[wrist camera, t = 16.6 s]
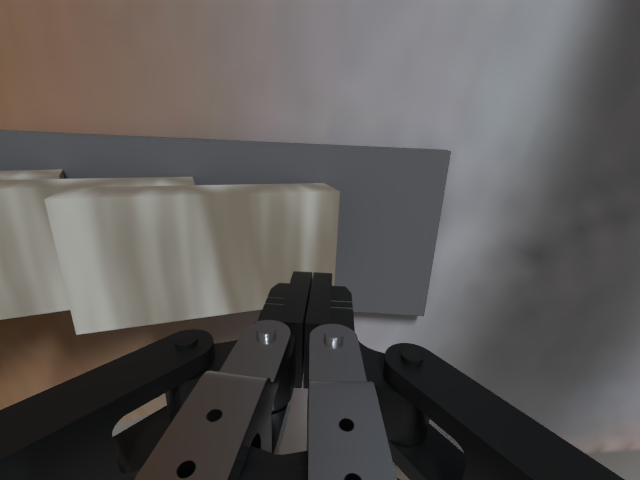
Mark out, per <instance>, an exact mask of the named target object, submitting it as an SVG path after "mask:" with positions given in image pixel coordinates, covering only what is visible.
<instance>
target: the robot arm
mask: <svg viewBox="0 0 640 480" xmlns="http://www.w3.org/2000/svg"><path fill="white" fill-rule="evenodd" d="M303 373H304V388H308V407H307V451H304V452H298V453H292V454H286V455H278V452H279V448H280V445H281V441H282V437H283V433H284V430H285V426H286V422H287V418H288V415H289V411H290V400H291V397H292V393H293V388H301V387H302V380H303ZM164 393H165V394H166V401H167V406H165V407H163V408H161V409H160V410H158V411H156V412H155V413H153V414H151V415H150V416H148V417H146V418H144V419H143V420H141V421H140V422H138V423H136V424H134V425H133V426H131V427H129V428H128V429H126V430H124V431H122V432H121V433H119V434H117V435H116V436H114V437H112V431H113V428H114V426H115V425H116V423H117V422H118V421H119V420H120V419H121V418H122V417H123V416H125V415H126V414H128V413H130V412H132V411H133V410H135V409H137V408H139V407H141V406H142V405H144V404H146V403H148V402H149V401H151V400H153V399H155V398H157V397H158V396H160V395H162V394H164ZM429 419H431V420H432V421H433V422H435V423H436V424H437V425H438V426H439V427H440V428H442V429H443V430H444V431H445V432H446V433H448V434H449V435H450V436H451V437H452V438H453V439H455V440H456V441H457V443H458V444H459V445H460V446H461V448H462V449H463V451H464V453H463V452H462V451H460V450H459V449H458V448H457V447H456V446H455V445H453V444H452V443H451V442H450V441H449V440H448V439H446V438H445V437H444V436H443V435H442V434H441V433H440V432H438V431H437V430H436V429H435V428H434V427H433V426H431V425H430V424H429ZM393 462H394V463H395V464H396V465H397V466H398V467H399V468H400V469H401V470H402V472H403V473H404V474H405V475H406V476H407V477H408V478H409V479H410V480H624V479H622V478H621V477H620V476H618V475H617V474H615V473H614V472H612V471H611V470H609V469H608V468H606V467H605V466H603V465H602V464H600V463H599V462H597V461H595V460H594V459H592V458H591V457H589V456H588V455H586V454H585V453H583V452H582V451H580V450H579V449H577V448H576V447H574V446H573V445H571V444H570V443H568V442H567V441H565V440H564V439H562V438H561V437H559V436H558V435H556V434H555V433H553V432H552V431H550V430H548V429H547V428H545V427H544V426H542V425H541V424H539V423H538V422H536V421H535V420H533V419H532V418H530V417H529V416H527V415H526V414H524V413H523V412H521V411H520V410H518V409H517V408H515V407H514V406H512V405H511V404H509V403H508V402H506V401H504V400H503V399H501V398H500V397H498V396H497V395H495V394H494V393H492V392H491V391H489V390H488V389H486V388H485V387H483V386H482V385H480V384H479V383H477V382H476V381H474V380H473V379H471V378H470V377H468V376H467V375H465V374H464V373H462V372H460V371H459V370H457V369H456V368H454V367H453V366H451V365H450V364H448V363H447V362H445V361H444V360H442V359H441V358H439V357H438V356H436V355H435V354H433V353H432V352H430V351H429V350H427V349H425V348H423V347H421V346H418V345H415V344H409V343H399V344H395V345H392V346H391V347H389V348H388V349H387V350H386V353H381V352H378V351H374V350H372V349H369V348H367V347H366V346H364V345H363V344H361V343H360V342H359V341H358V337H357V335H356V333H355V331H354V317H353V304H352V293H351V292H350V291H349V290H348V289H347V287H346V286H332V273H320V272H314V273H313V279H312V272H301V271H293V274H292V277H291V280H290V283H278V284H277V285H275V286H274V287H273V288H271V289H270V292H269V294H268V298H267V299H266V302H265V304H264V306H263V309H262V311H261V314H260V316H259V318H258V321H257V322H255V323H252V324H250V325H249V326H247V327H246V328H245V329H244V331H243V332H242V334H241V336H240V337H239V339H238V340H235V341H231V342H224V343H218V344H214V343H213V337H212V336H211V334H209V333H208V332H206V331H203V330H196V329H192V330H184V331H180V332H177V333H175V334H172V335H170V336H168V337H166V338H163V339H161V340H159V341H157V342H154V343H152V344H150V345H147V346H145V347H143V348H141V349H138V350H136V351H134V352H132V353H129V354H127V355H125V356H122V357H120V358H118V359H116V360H113V361H111V362H109V363H107V364H104V365H102V366H100V367H97V368H95V369H93V370H91V371H88V372H86V373H84V374H82V375H79V376H77V377H75V378H72V379H70V380H68V381H66V382H63V383H61V384H59V385H57V386H54V387H52V388H50V389H48V390H45V391H43V392H41V393H38V394H36V395H34V396H32V397H29V398H27V399H25V400H23V401H20V402H18V403H16V404H13V405H11V406H9V407H7V408H4V409H2V410H0V480H400V479H398V478H397V477H396V473H395V469H394V465H393Z"/></svg>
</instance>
